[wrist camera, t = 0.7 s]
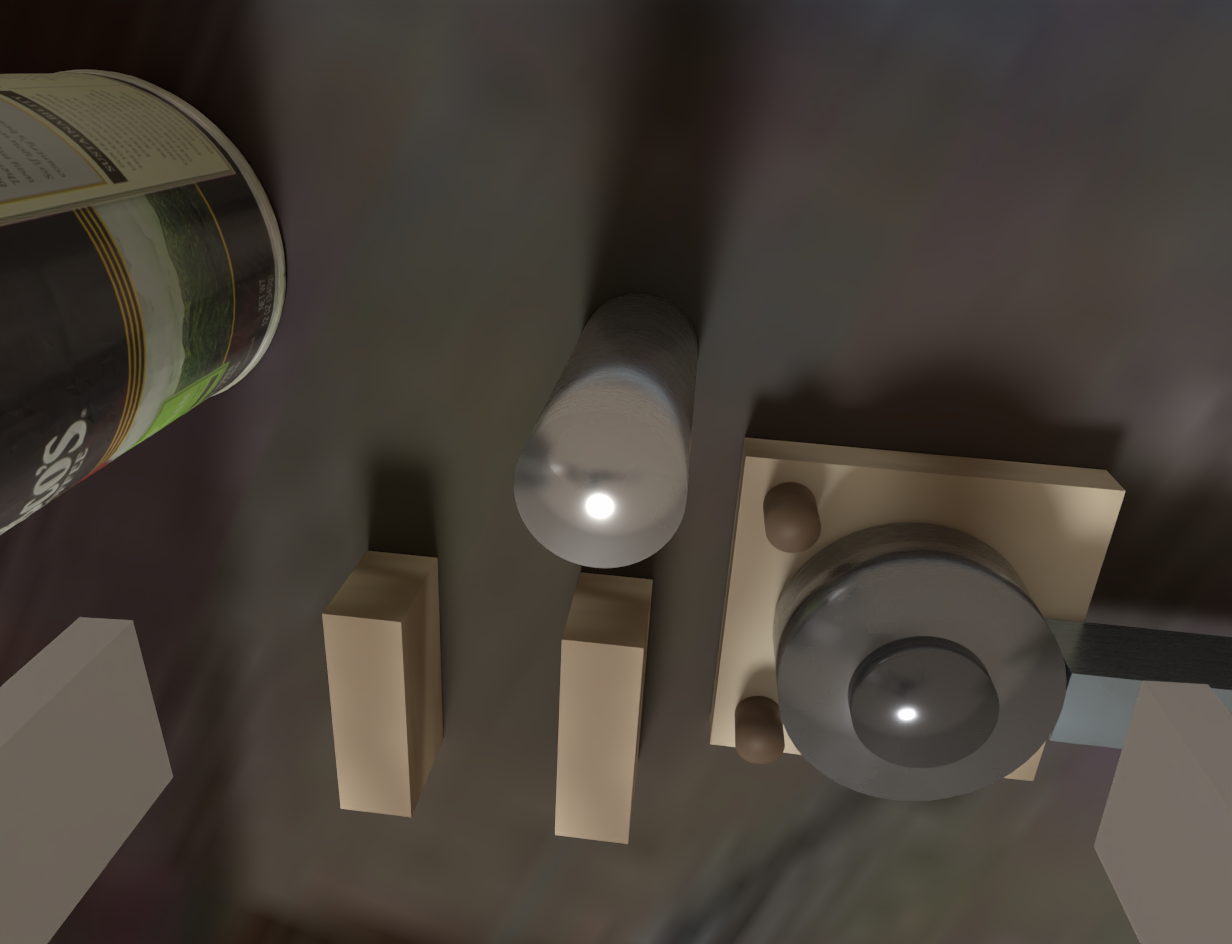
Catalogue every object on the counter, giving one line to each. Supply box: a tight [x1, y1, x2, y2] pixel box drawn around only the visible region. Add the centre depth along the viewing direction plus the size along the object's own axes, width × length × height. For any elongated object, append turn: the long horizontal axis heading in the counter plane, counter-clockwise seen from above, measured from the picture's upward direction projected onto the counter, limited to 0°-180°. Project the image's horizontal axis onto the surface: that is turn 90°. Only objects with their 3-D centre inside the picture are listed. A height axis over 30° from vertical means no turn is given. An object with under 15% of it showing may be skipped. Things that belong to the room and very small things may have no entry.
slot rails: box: [322, 551, 653, 844], centre depth 31 cm, size 10×8×4 cm
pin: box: [514, 293, 698, 568], centre depth 23 cm, size 4×4×10 cm
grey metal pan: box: [773, 522, 1232, 801], centre depth 27 cm, size 16×8×4 cm, turn 87°
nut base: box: [710, 438, 1126, 781], centre depth 29 cm, size 11×11×3 cm
